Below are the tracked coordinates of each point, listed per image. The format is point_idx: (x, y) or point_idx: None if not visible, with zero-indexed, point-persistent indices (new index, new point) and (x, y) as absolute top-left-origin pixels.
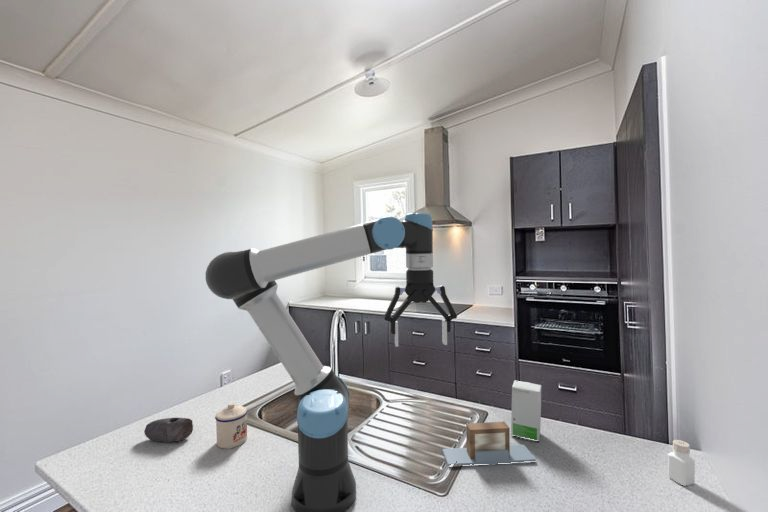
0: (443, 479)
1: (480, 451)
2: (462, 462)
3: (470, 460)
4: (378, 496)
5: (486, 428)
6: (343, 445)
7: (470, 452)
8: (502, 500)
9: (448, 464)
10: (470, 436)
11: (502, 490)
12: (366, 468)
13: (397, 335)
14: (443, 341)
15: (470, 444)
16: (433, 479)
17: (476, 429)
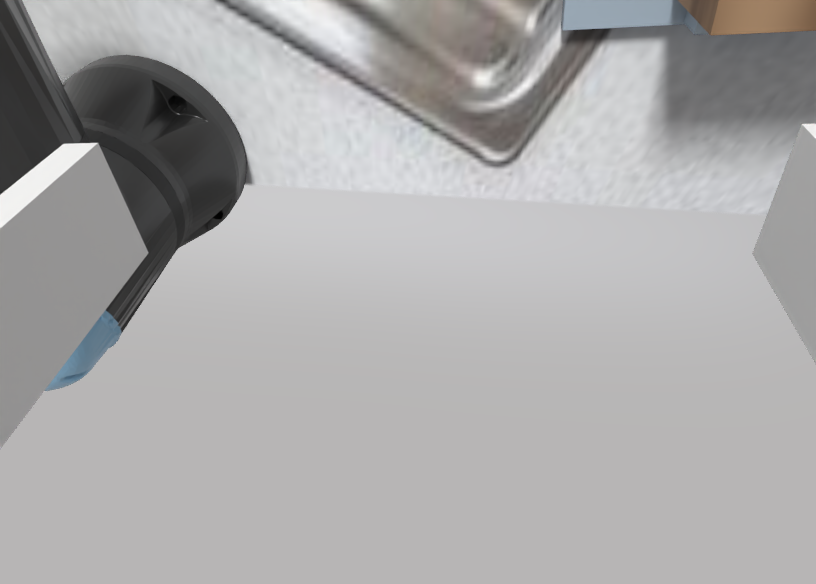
0: (521, 93)
1: None
2: (625, 23)
3: (667, 7)
4: (310, 157)
5: (811, 23)
6: (153, 280)
7: (681, 2)
8: (670, 192)
9: (562, 29)
10: (702, 25)
11: (698, 154)
12: (243, 17)
13: (64, 352)
14: (784, 224)
15: (691, 13)
16: (486, 91)
17: (748, 31)
